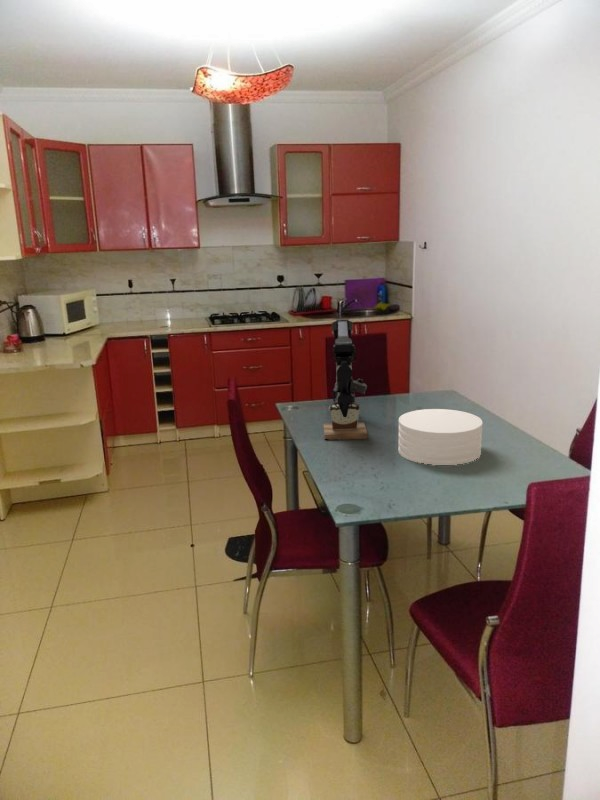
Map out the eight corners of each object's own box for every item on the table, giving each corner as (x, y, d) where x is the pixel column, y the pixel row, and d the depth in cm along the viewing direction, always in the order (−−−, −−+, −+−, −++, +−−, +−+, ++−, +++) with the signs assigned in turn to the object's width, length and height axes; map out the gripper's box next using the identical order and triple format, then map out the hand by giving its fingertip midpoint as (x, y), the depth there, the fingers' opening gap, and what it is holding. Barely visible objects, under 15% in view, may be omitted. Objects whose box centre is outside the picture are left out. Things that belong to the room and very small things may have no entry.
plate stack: (480, 440, 216) (481, 410, 213) (481, 469, 190) (483, 435, 187) (402, 436, 223) (403, 407, 220) (393, 463, 197) (394, 430, 194)
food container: (359, 421, 232) (359, 398, 227) (360, 429, 226) (361, 405, 222) (327, 422, 232) (327, 399, 228) (328, 430, 226) (328, 406, 222)
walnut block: (323, 428, 235) (323, 423, 234) (363, 427, 235) (363, 422, 234) (324, 440, 221) (324, 434, 221) (367, 438, 221) (367, 433, 221)
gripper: (368, 380, 213) (368, 421, 217) (363, 369, 231) (363, 407, 235) (337, 380, 213) (337, 422, 217) (334, 369, 231) (335, 408, 235)
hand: (344, 414), depth 226 cm, fingers closed on food container, 6 cm apart
